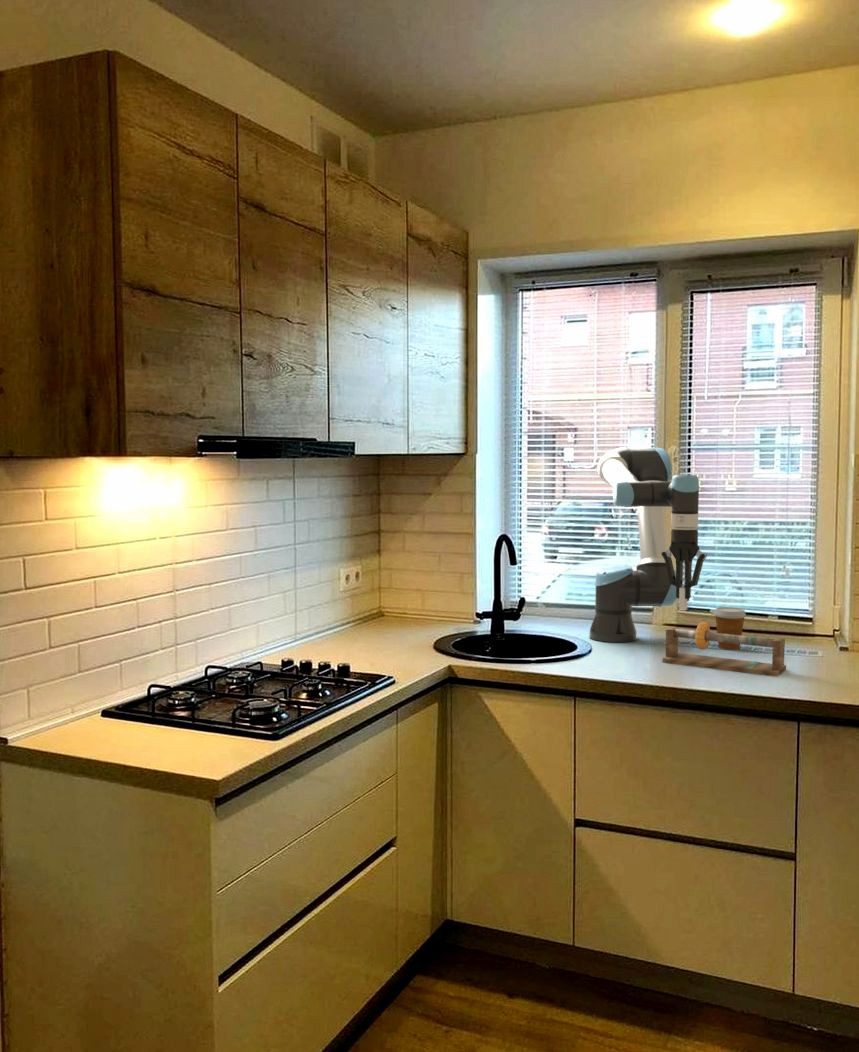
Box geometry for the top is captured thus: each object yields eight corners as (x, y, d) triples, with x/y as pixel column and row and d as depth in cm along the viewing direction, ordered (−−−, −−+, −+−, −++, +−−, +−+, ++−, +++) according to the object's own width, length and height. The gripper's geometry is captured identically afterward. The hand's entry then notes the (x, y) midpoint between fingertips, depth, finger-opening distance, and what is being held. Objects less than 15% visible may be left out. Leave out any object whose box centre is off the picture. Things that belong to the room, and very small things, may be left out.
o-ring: (693, 651, 267) (694, 623, 267) (702, 646, 274) (702, 619, 273) (702, 652, 266) (703, 624, 265) (711, 647, 272) (711, 620, 272)
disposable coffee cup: (710, 648, 290) (711, 610, 290) (716, 643, 299) (717, 606, 298) (742, 651, 286) (743, 612, 285) (747, 646, 294) (748, 608, 294)
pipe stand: (662, 662, 271) (663, 630, 271) (674, 656, 280) (674, 625, 279) (777, 676, 254) (778, 642, 253) (786, 669, 262) (787, 636, 261)
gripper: (658, 528, 271) (656, 609, 272) (703, 530, 264) (701, 613, 265) (667, 527, 277) (665, 606, 279) (711, 528, 270) (709, 610, 271)
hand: (683, 609), depth 272 cm, fingers closed
